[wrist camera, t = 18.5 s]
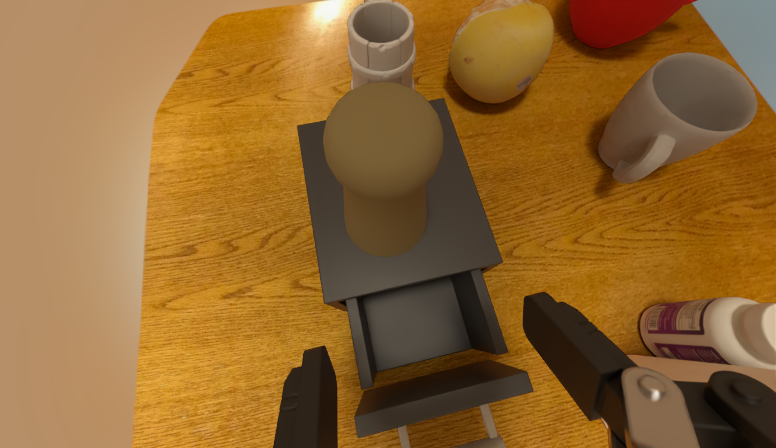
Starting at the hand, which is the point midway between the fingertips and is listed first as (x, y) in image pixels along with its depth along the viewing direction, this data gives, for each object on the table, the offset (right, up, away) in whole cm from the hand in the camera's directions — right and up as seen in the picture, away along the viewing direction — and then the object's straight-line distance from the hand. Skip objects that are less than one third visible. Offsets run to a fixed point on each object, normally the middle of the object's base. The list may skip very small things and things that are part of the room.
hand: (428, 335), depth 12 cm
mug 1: (-3, +22, +26) cm, 35 cm away
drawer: (+1, -6, +16) cm, 17 cm away
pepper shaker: (-2, +5, +10) cm, 12 cm away
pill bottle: (+25, -6, +17) cm, 30 cm away
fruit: (+11, +22, +26) cm, 36 cm away
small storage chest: (-1, +4, +20) cm, 20 cm away
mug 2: (+25, +11, +23) cm, 35 cm away
